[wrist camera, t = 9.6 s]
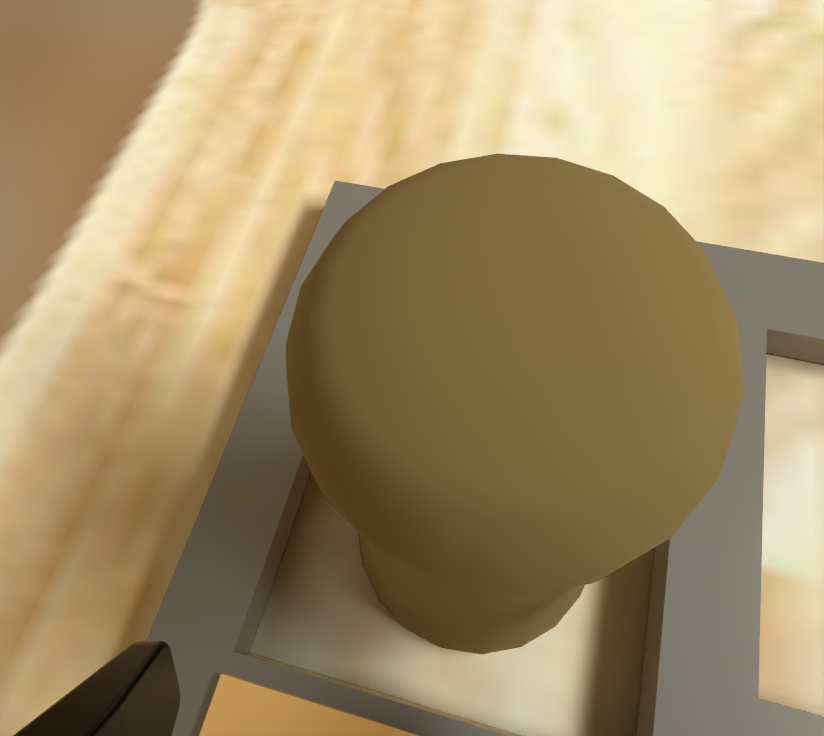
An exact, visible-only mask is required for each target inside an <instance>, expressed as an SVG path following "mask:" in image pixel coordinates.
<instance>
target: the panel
mask: <svg viewBox="0 0 824 736" xmlns="http://www.w3.org/2000/svg"><path fill="white" fill-rule="evenodd" d="M383 190H385V189H382V188H376V187H370V186H364V185H358V184H352V183H346V182H340V181H335V182H334V184H333V187H332V189H331V192H330V194H329V197H328V199H327V202H326V204H325V206H324V209H323V211H322V214H321V216H320V219H319V221H318V224H317V226H316V228H315V231H314V233H313V236H312V238H311V241H310V243H309V246H308V248H307V250H306V253H305V255H304V258H303V260H302V263H301V265H300V268H299V270H298V272H297V275H296V277H295V280H294V282H293V285H292V287H291V290H290V292H289V294H288V297H287V299H286V302H285V304H284V307H283V309H282V312H281V314H280V317H279V319H278V321H277V324H276V326H275V329H274V331H273V334H272V336H271V339H270V341H269V343H268V346H267V348H266V351H265V353H264V356H263V358H262V361H261V363H260V365H259V368H258V370H257V373H256V375H255V378H254V380H253V383H252V385H251V387H250V390H249V392H248V395H247V397H246V400H245V402H244V405H243V407H242V409H241V412H240V414H239V417H238V419H237V422H236V424H235V427H234V429H233V431H232V434H231V436H230V439H229V441H228V444H227V446H226V449H225V451H224V453H223V456H222V458H221V461H220V463H219V466H218V468H217V471H216V473H215V475H214V478H213V480H212V483H211V485H210V488H209V490H208V493H207V495H206V497H205V500H204V502H203V505H202V507H201V510H200V512H199V515H198V517H197V519H196V522H195V524H194V527H193V529H192V532H191V534H190V537H189V539H188V541H187V544H186V546H185V549H184V551H183V554H182V556H181V559H180V561H179V563H178V566H177V568H176V571H175V573H174V576H173V578H172V581H171V583H170V585H169V588H168V590H167V593H166V595H165V598H164V600H163V603H162V605H161V608H160V610H159V612H158V615H157V617H156V620H155V622H154V625H153V627H152V630H151V632H150V634H149V637H148V639H147V641H164V642H166V643H168V645H169V646H170V649H171V652H172V657H173V661H174V665H175V670H176V674H177V678H178V683H179V687H180V706H179V711H178V715H177V718H176V722H175V726H174V729H173V733H172V736H520V735H517V734H514V733H511V732H507V731H504V730H501V729H497V728H494V727H491V726H488V725H484V724H481V723H478V722H474V721H471V720H468V719H465V718H461V717H458V716H455V715H452V714H448V713H445V712H442V711H438V710H435V709H432V708H429V707H425V706H422V705H419V704H416V703H412V702H409V701H406V700H402V699H399V698H396V697H393V696H389V695H386V694H383V693H380V692H376V691H373V690H370V689H366V688H363V687H360V686H357V685H353V684H350V683H347V682H343V681H340V680H337V679H334V678H330V677H327V676H324V675H321V674H317V673H314V672H311V671H307V670H304V669H301V668H298V667H294V666H291V665H288V664H285V663H281V662H278V661H275V660H271V659H268V658H265V657H262V656H258V655H255V654H252V653H249V652H250V649H251V646H252V643H253V640H254V637H255V634H256V631H257V628H258V626H259V623H260V620H261V617H262V614H263V611H264V608H265V605H266V602H267V599H268V596H269V593H270V590H271V588H272V585H273V582H274V579H275V576H276V573H277V570H278V567H279V564H280V561H281V558H282V555H283V552H284V550H285V547H286V544H287V541H288V538H289V535H290V532H291V529H292V526H293V523H294V520H295V517H296V514H297V512H298V509H299V506H300V503H301V500H302V497H303V494H304V491H305V488H306V485H307V482H308V479H309V476H310V474H311V470H310V468H309V465H308V463H307V461H306V459H305V457H304V455H303V453H302V450H301V448H300V446H299V444H298V442H297V440H296V437H295V435H294V433H293V431H292V429H291V419H290V407H289V396H288V384H287V373H286V341H287V337H288V333H289V329H290V326H291V322H292V318H293V314H294V311H295V307H296V303H297V299H298V295H299V292H300V288H301V285H302V283H303V282H304V280H305V279H306V277H307V276H308V274H309V273H310V271H311V270H312V268H313V267H314V265H315V264H316V262H317V261H318V259H319V258H320V256H321V255H322V253H323V252H324V250H325V249H326V247H327V246H328V244H329V243H330V241H331V240H332V238H333V237H334V235H335V234H336V233H337V232H338V230H339V229H340V228H341V227H342V225H343V224H344V223H345V222H346V221H347V220H348V219H349V218H350V217H352V216H353V215H354V214H355V213H356V212H358V211H359V210H360V209H361V208H363V207H364V206H365V205H366V204H368V203H369V202H370V201H371V200H372V199H374V198H375V197H376V196H377V195H379V194H380V193H381V192H382V191H383ZM697 243H698V244H699V245H700V246H701V247H702V248H703V249H704V251H705V252H706V254H707V257H708V259H709V261H710V263H711V265H712V267H713V269H714V271H715V274H716V276H717V278H718V280H719V282H720V284H721V286H722V288H723V291H724V293H725V295H726V297H727V299H728V301H729V303H730V306H731V308H732V311H733V313H734V316H735V319H736V321H737V324H738V326H739V334H740V345H741V356H742V367H743V378H744V388H745V394H744V397H743V400H742V404H741V407H740V411H739V414H738V418H737V421H736V424H735V428H734V431H733V435H732V438H731V441H730V445H729V448H728V452H727V455H726V458H725V461H724V463H723V466H722V468H721V471H720V474H719V476H718V479H717V481H716V482H715V483H714V485H713V486H712V487H711V488H710V490H709V491H708V492H707V494H706V495H705V496H704V497H703V499H702V500H701V501H700V502H699V504H698V505H697V506H696V507H695V509H694V510H693V511H692V513H691V514H690V515H689V516H688V518H687V519H686V520H685V521H684V523H683V524H682V525H681V526H680V528H679V529H678V530H677V532H676V533H675V534H674V535H673V537H672V538H670V539H668V540H667V541H665V542H663V543H662V544H660V545H658V546H657V547H655V548H654V556H653V567H652V577H651V588H650V598H649V609H648V619H647V630H646V640H645V651H644V661H643V672H642V682H641V693H640V703H639V713H638V724H637V734H636V736H824V717H823V716H819V715H816V714H812V713H809V712H805V711H801V710H798V709H794V708H791V707H787V706H783V705H780V704H776V703H773V702H769V701H765V700H762V699H758V681H759V639H760V597H761V555H762V513H763V471H764V430H765V388H766V353H768V354H773V355H778V356H784V357H789V358H794V359H799V360H804V361H810V362H815V363H820V364H824V263H821V262H815V261H809V260H803V259H797V258H791V257H785V256H779V255H773V254H767V253H762V252H756V251H750V250H744V249H738V248H732V247H726V246H720V245H714V244H708V243H702V242H697Z"/></svg>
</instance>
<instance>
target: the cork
mask: <svg viewBox="0 0 824 736" xmlns="http://www.w3.org/2000/svg"><path fill="white" fill-rule="evenodd" d="M286 373H287V384H288V396H289V407H290V419H291V429H292V431H293V433H294V435H295V437H296V440H297V442H298V444H299V446H300V448H301V450H302V453H303V455H304V457H305V459H306V461H307V463H308V465H309V468H310V470H311V472H312V474H313V476H314V478H315V481H316V483H317V485H318V487H319V489H320V491H321V492H322V493H323V495H324V496H325V497H326V498H327V500H328V501H329V502H330V503H331V504H332V505H333V506H334V507H335V508H336V509H337V510H338V511H339V512H340V513H341V514H342V515H343V516H344V517H345V519H346V520H347V521H348V522H349V523H350V524H351V525H352V526H353V527H354V528H355V529H356V530H357V531H358V533H359V541H360V549H361V556H362V564H363V566H364V569H365V571H366V573H367V575H368V577H369V579H370V581H371V583H372V586H373V588H374V590H375V592H376V594H377V596H378V598H379V600H380V601H381V602H382V603H383V604H384V605H385V606H386V607H387V609H388V610H389V611H390V612H391V613H392V614H393V615H394V616H395V617H396V618H397V619H398V620H399V621H400V622H401V623H402V625H403V626H404V627H405V628H406V629H408V630H410V631H412V632H414V633H415V634H417V635H419V636H421V637H423V638H425V639H427V640H428V641H430V642H432V643H434V644H436V645H438V646H440V647H442V648H447V649H453V650H459V651H465V652H472V653H478V654H485V653H490V652H496V651H501V650H506V649H512V648H517V647H522V646H523V645H525V644H527V643H528V642H530V641H532V640H533V639H535V638H537V637H538V636H540V635H542V634H543V633H545V632H547V631H548V630H550V629H552V628H553V627H555V626H556V625H557V624H558V622H559V621H560V620H561V619H562V618H563V616H564V615H565V614H566V613H567V611H568V610H569V609H570V608H571V607H572V605H573V604H574V603H575V602H576V600H577V599H578V598H579V597H580V595H581V592H582V590H583V588H584V585H585V584H590V583H593V582H596V581H598V580H600V579H602V578H604V577H606V576H607V575H609V574H611V573H613V572H614V571H616V570H618V569H619V568H621V567H623V566H624V565H626V564H628V563H629V562H631V561H633V560H635V559H636V558H638V557H640V556H641V555H643V554H645V553H646V552H648V551H650V550H651V549H653V548H655V547H657V546H658V545H660V544H662V543H663V542H665V541H667V540H668V539H670V538H672V537H673V535H674V534H675V533H676V532H677V530H678V529H679V528H680V526H681V525H682V524H683V523H684V521H685V520H686V519H687V518H688V516H689V515H690V514H691V513H692V511H693V510H694V509H695V507H696V506H697V505H698V504H699V502H700V501H701V500H702V499H703V497H704V496H705V495H706V494H707V492H708V491H709V490H710V488H711V487H712V486H713V485H714V483H715V482H716V481H717V479H718V476H719V474H720V471H721V468H722V466H723V463H724V461H725V458H726V455H727V452H728V448H729V445H730V441H731V438H732V435H733V431H734V428H735V424H736V421H737V418H738V414H739V411H740V407H741V404H742V400H743V397H744V394H745V388H744V378H743V367H742V356H741V345H740V334H739V326H738V324H737V321H736V319H735V316H734V313H733V311H732V308H731V306H730V303H729V301H728V299H727V297H726V295H725V293H724V291H723V288H722V286H721V284H720V282H719V280H718V278H717V276H716V274H715V271H714V269H713V267H712V265H711V263H710V261H709V259H708V257H707V254H706V252H705V251H704V249H703V248H702V247H701V246H700V245H699V244H698V243H697V242H696V241H695V240H694V239H693V238H692V237H691V235H690V234H689V233H688V232H687V231H686V230H685V229H684V228H683V227H682V226H681V225H680V224H679V223H678V221H677V220H676V219H675V218H674V217H673V216H672V215H671V214H670V213H669V212H668V211H667V210H666V209H665V207H663V206H662V205H660V204H658V203H657V202H655V201H653V200H652V199H650V198H649V197H647V196H645V195H644V194H642V193H640V192H639V191H637V190H636V189H634V188H632V187H631V186H629V185H627V184H626V183H624V182H622V181H621V180H619V179H618V178H616V177H614V176H612V175H609V174H606V173H603V172H600V171H596V170H593V169H590V168H587V167H584V166H580V165H577V164H574V163H571V162H568V161H564V160H561V159H558V158H551V157H536V156H521V155H506V154H494V155H488V156H482V157H476V158H470V159H464V160H458V161H452V162H446V163H440V164H438V165H436V166H434V167H431V168H429V169H427V170H424V171H422V172H420V173H418V174H415V175H413V176H411V177H409V178H406V179H404V180H402V181H399V182H397V183H395V184H393V185H390V186H388V187H387V188H386V189H385V190H383V191H382V192H381V193H380V194H379V195H377V196H376V197H375V198H374V199H372V200H371V201H370V202H369V203H368V204H366V205H365V206H364V207H363V208H361V209H360V210H359V211H358V212H356V213H355V214H354V215H353V216H352V217H350V218H349V219H348V220H347V221H346V222H345V223H344V224H343V225H342V227H341V228H340V229H339V230H338V232H337V233H336V234H335V235H334V237H333V238H332V240H331V241H330V243H329V244H328V246H327V247H326V249H325V250H324V252H323V253H322V255H321V256H320V258H319V259H318V261H317V262H316V264H315V265H314V267H313V268H312V270H311V271H310V273H309V274H308V276H307V277H306V279H305V280H304V282H303V283H302V285H301V288H300V292H299V295H298V299H297V303H296V307H295V311H294V314H293V318H292V322H291V326H290V329H289V333H288V337H287V341H286Z"/></svg>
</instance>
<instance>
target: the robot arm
mask: <svg viewBox="0 0 824 736" xmlns="http://www.w3.org/2000/svg"><path fill="white" fill-rule="evenodd" d="M179 706H180V687H179V683H178V678H177V674H176V670H175V665H174V661H173V657H172V652H171V649H170V646H169V645H168V643H166V642H164V641H144V642H136V643H134V644H132V645H130V646H129V647H127V648H126V649H125V650H124V651H122V652H121V653H120V654H118V655H117V656H116V657H114V658H113V659H112V660H111V661H109V662H108V663H107V664H105V665H104V666H103V667H102V668H100V669H99V670H98V671H96V672H95V673H94V674H92V675H91V676H90V677H89V678H87V679H86V680H85V681H83V682H82V683H81V684H80V685H78V686H77V687H76V688H74V689H73V690H72V691H70V692H69V693H68V694H67V695H65V696H64V697H63V698H61V699H60V700H59V701H57V702H56V703H55V704H54V705H52V706H51V707H50V708H48V709H47V710H46V711H45V712H43V713H42V714H41V715H39V716H38V717H37V718H35V719H34V720H33V721H32V722H30V723H29V724H28V725H26V726H25V727H24V728H22V729H21V730H20V731H19V732H17V733H16V734H15V735H13V736H172V733H173V729H174V726H175V722H176V718H177V715H178V711H179Z"/></svg>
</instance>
